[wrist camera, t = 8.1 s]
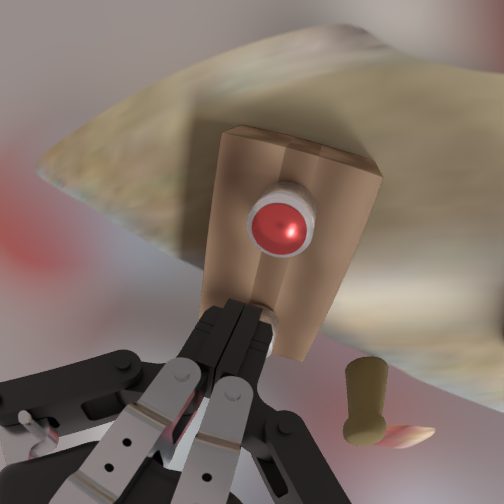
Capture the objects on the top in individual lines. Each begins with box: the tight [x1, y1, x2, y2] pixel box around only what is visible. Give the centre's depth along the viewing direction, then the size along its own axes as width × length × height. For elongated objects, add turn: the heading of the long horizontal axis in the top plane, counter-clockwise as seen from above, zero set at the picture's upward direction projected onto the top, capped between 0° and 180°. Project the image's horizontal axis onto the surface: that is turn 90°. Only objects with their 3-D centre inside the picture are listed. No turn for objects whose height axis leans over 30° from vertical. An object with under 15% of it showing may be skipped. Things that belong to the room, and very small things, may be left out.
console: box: [199, 125, 383, 362], centre depth 28 cm, size 12×21×5 cm, turn 170°
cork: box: [343, 357, 388, 446], centre depth 32 cm, size 6×6×11 cm
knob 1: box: [250, 304, 279, 358], centre depth 29 cm, size 4×4×7 cm
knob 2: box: [247, 182, 317, 258], centre depth 22 cm, size 4×4×7 cm
